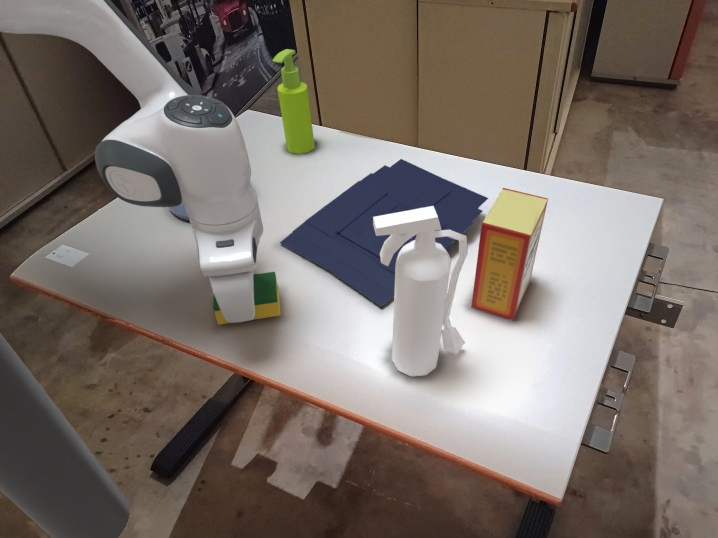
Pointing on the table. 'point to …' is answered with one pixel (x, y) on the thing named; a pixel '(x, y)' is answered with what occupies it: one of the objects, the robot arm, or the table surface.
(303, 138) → the soap dispenser
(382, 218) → the fire extinguisher
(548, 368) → the table surface
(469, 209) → the folded navy cloth
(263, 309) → the sponge
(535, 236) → the baking soda box
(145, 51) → the robot arm
